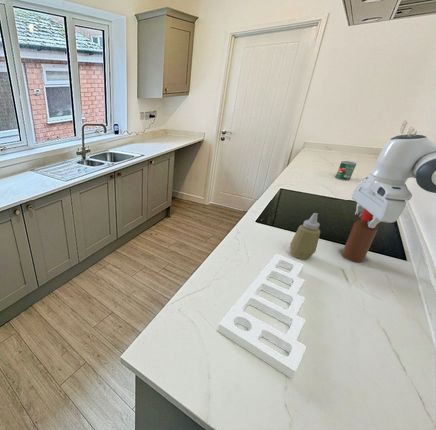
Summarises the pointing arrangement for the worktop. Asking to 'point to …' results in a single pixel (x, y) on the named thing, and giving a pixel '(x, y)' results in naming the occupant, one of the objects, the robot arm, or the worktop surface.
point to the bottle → (359, 241)
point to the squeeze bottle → (306, 238)
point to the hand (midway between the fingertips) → (364, 221)
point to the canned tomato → (345, 170)
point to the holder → (262, 329)
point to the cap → (366, 216)
